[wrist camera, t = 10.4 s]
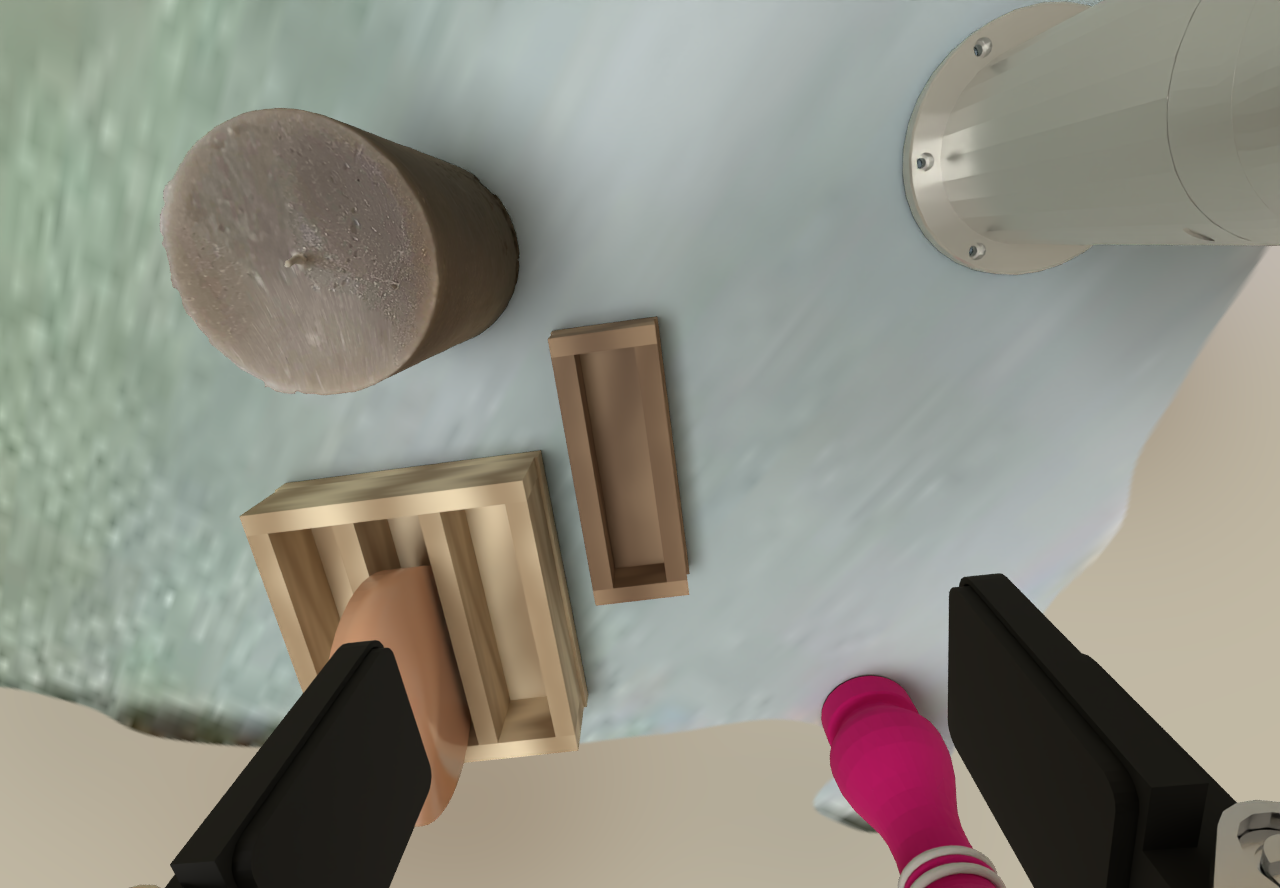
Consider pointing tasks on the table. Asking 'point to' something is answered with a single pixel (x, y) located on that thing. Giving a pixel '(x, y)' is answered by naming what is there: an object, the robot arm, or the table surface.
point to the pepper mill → (902, 784)
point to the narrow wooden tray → (622, 458)
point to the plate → (417, 667)
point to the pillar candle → (331, 250)
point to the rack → (439, 583)
